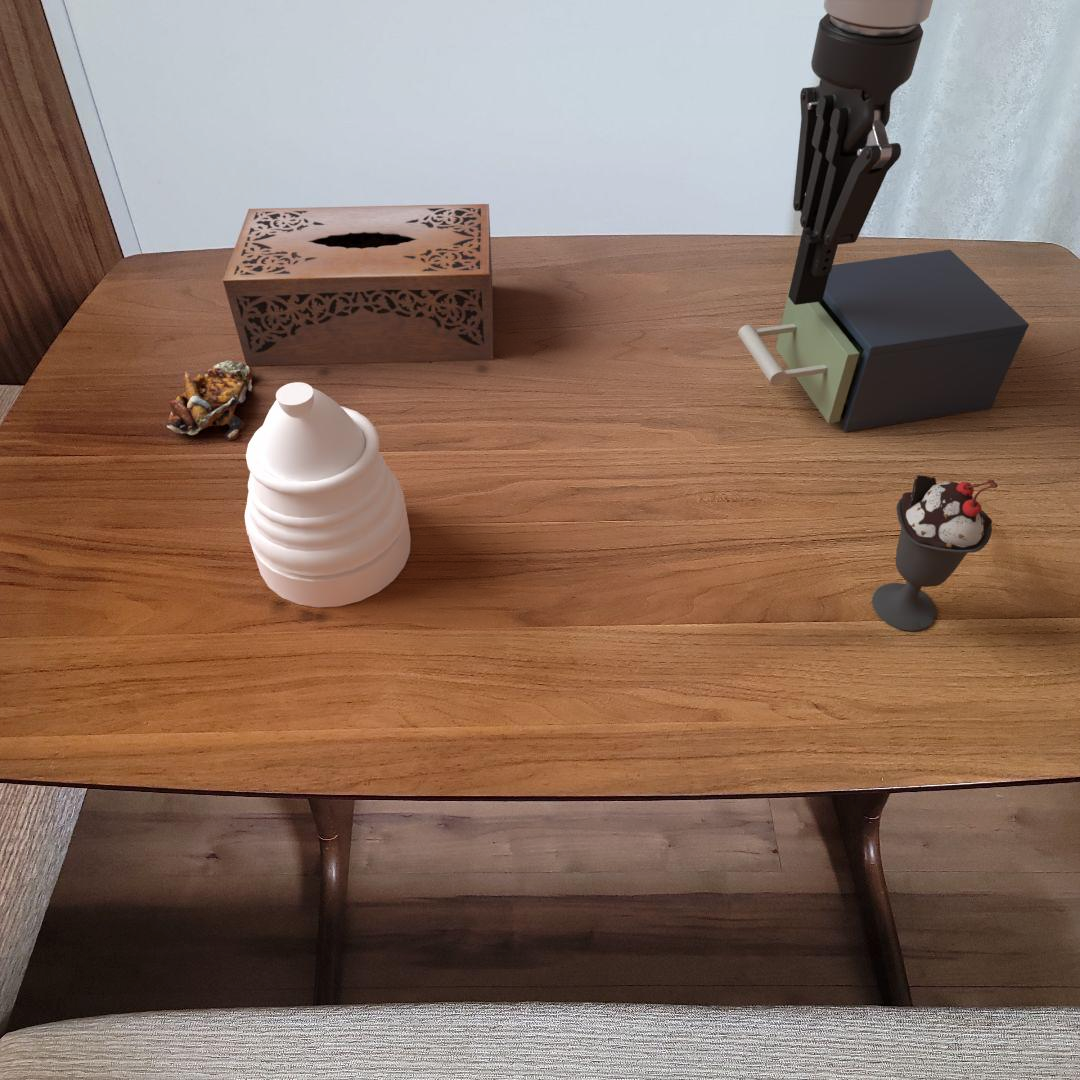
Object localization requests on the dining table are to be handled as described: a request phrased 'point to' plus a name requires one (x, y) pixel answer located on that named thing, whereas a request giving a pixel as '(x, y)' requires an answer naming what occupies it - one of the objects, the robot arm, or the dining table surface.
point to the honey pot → (323, 502)
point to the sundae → (931, 547)
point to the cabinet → (922, 337)
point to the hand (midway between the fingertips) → (805, 298)
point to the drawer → (810, 354)
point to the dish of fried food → (211, 400)
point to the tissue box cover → (363, 284)
